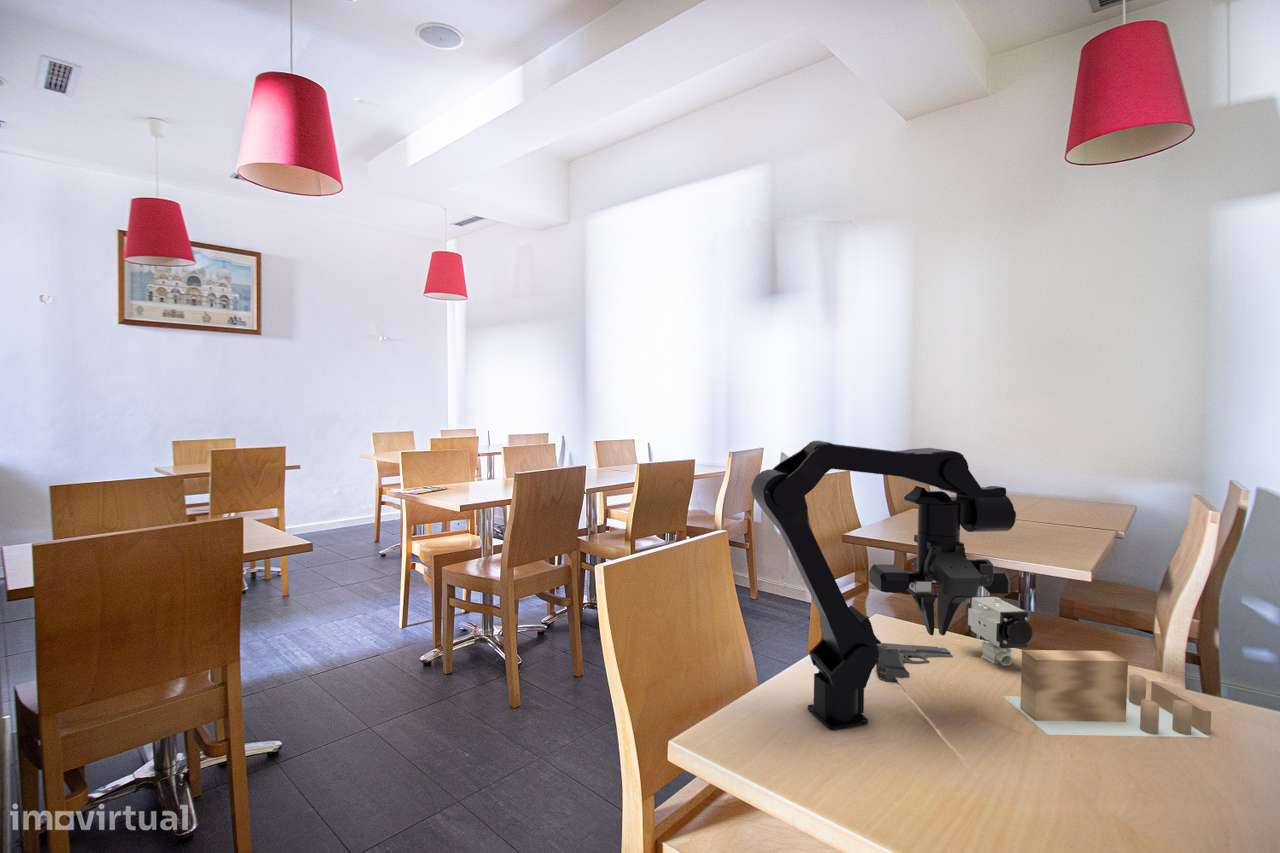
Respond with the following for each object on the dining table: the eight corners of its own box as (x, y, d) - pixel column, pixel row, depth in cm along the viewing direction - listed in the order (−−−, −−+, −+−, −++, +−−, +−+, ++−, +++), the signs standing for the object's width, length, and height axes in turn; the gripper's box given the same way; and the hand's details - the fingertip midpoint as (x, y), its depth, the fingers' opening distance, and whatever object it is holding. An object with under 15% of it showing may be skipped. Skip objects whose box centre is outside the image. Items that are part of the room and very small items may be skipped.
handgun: (979, 673, 102) (945, 642, 114) (881, 666, 102) (857, 636, 114) (977, 691, 102) (943, 659, 114) (879, 684, 102) (856, 653, 114)
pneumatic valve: (986, 649, 115) (988, 587, 115) (1032, 677, 104) (1034, 608, 103) (959, 651, 115) (960, 588, 114) (1002, 679, 103) (1004, 609, 103)
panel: (1047, 740, 85) (1048, 706, 85) (1002, 701, 96) (1003, 671, 95) (1216, 742, 84) (1218, 709, 84) (1152, 703, 95) (1153, 673, 95)
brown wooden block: (1034, 720, 88) (1036, 659, 88) (1020, 708, 92) (1022, 649, 92) (1125, 721, 88) (1128, 661, 88) (1107, 709, 92) (1110, 651, 91)
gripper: (896, 544, 83) (894, 656, 84) (1035, 545, 83) (1031, 657, 84) (868, 527, 94) (867, 626, 95) (990, 528, 94) (987, 627, 95)
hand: (936, 634), depth 92 cm, fingers closed
